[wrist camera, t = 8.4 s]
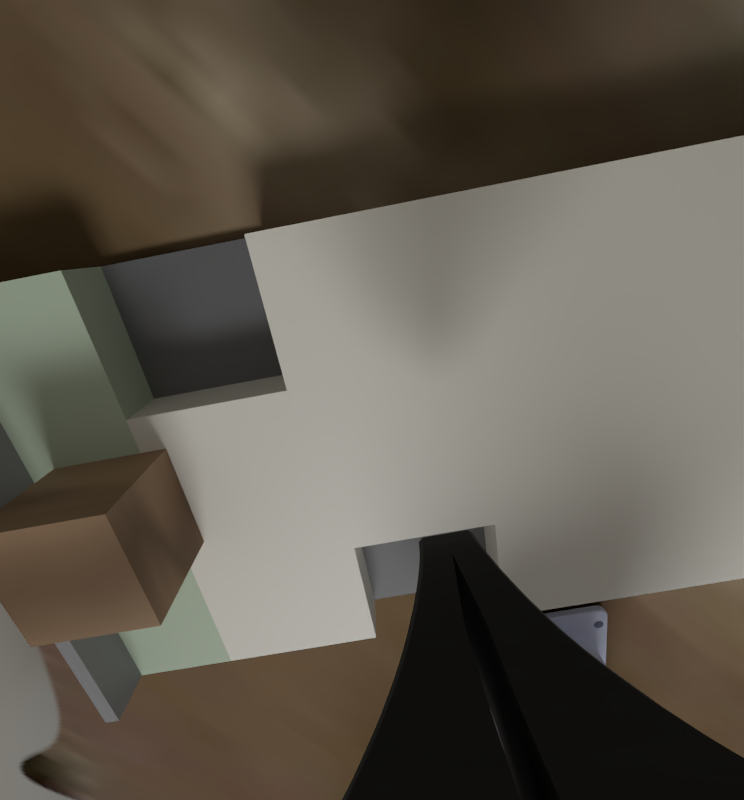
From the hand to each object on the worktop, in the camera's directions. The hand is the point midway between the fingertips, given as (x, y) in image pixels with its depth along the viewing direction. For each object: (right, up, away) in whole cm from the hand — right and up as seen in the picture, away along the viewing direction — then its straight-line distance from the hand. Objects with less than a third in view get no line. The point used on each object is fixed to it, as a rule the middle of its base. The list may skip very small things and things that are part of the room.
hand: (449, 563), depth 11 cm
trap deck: (-1, +3, +7) cm, 8 cm away
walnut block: (-12, 0, +5) cm, 13 cm away
